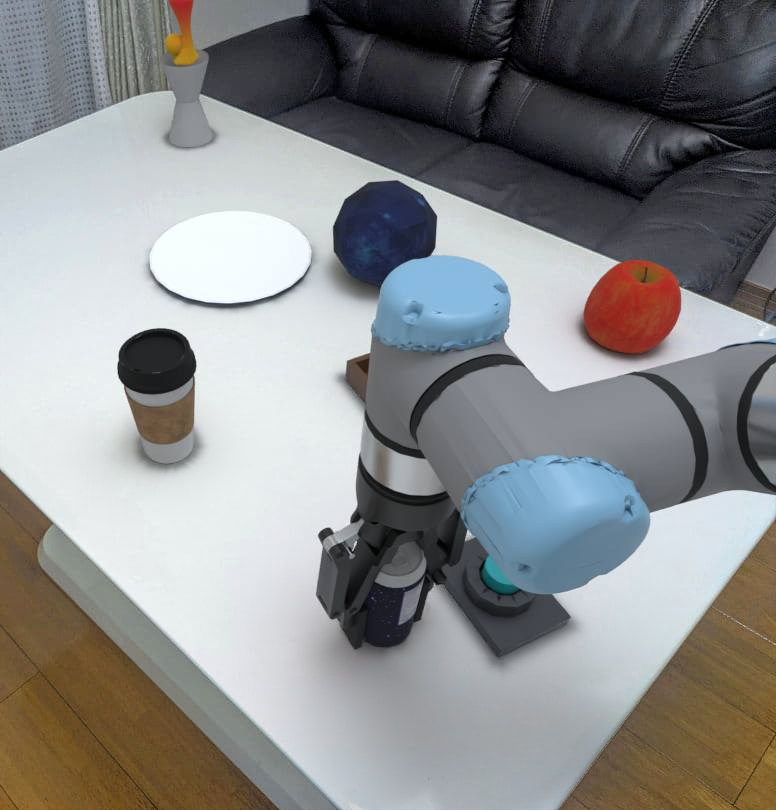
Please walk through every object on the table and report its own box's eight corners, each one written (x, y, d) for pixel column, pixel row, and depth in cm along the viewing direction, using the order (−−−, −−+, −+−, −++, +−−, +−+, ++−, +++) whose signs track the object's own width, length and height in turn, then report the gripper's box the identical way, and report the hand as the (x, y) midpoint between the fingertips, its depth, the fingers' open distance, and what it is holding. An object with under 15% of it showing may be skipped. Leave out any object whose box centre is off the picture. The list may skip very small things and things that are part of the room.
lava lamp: (216, 126, 146) (204, -80, 121) (210, 147, 140) (197, -65, 115) (171, 126, 147) (150, -78, 122) (164, 147, 141) (140, -64, 116)
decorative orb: (472, 262, 101) (442, 154, 98) (385, 297, 96) (351, 185, 93) (411, 274, 114) (383, 179, 111) (331, 305, 109) (300, 207, 107)
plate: (283, 205, 124) (283, 199, 123) (335, 290, 106) (335, 283, 106) (137, 231, 120) (136, 224, 119) (166, 323, 103) (165, 316, 102)
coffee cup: (120, 460, 85) (98, 364, 74) (153, 411, 90) (137, 315, 80) (185, 481, 82) (172, 384, 72) (216, 429, 88) (208, 332, 77)
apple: (661, 317, 100) (693, 250, 92) (668, 368, 92) (703, 300, 85) (577, 304, 102) (601, 238, 95) (577, 354, 95) (603, 286, 87)
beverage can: (389, 589, 71) (404, 514, 63) (422, 638, 68) (443, 565, 59) (338, 610, 70) (346, 537, 62) (369, 662, 66) (382, 591, 58)
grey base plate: (567, 623, 69) (577, 606, 67) (498, 657, 67) (505, 641, 64) (493, 534, 76) (499, 517, 74) (427, 563, 74) (432, 546, 72)
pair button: (529, 585, 69) (534, 575, 67) (498, 600, 68) (502, 590, 66) (504, 556, 71) (508, 545, 70) (473, 569, 70) (477, 559, 69)
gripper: (486, 387, 57) (440, 555, 74) (271, 467, 52) (272, 628, 69) (552, 451, 52) (487, 616, 69) (322, 546, 47) (310, 700, 64)
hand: (380, 622), depth 69 cm, fingers closed on beverage can, 6 cm apart
